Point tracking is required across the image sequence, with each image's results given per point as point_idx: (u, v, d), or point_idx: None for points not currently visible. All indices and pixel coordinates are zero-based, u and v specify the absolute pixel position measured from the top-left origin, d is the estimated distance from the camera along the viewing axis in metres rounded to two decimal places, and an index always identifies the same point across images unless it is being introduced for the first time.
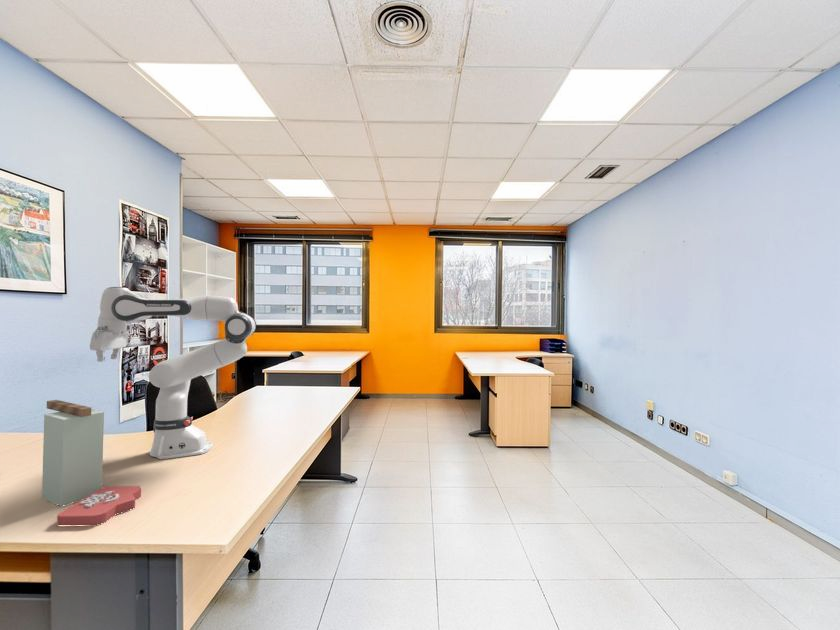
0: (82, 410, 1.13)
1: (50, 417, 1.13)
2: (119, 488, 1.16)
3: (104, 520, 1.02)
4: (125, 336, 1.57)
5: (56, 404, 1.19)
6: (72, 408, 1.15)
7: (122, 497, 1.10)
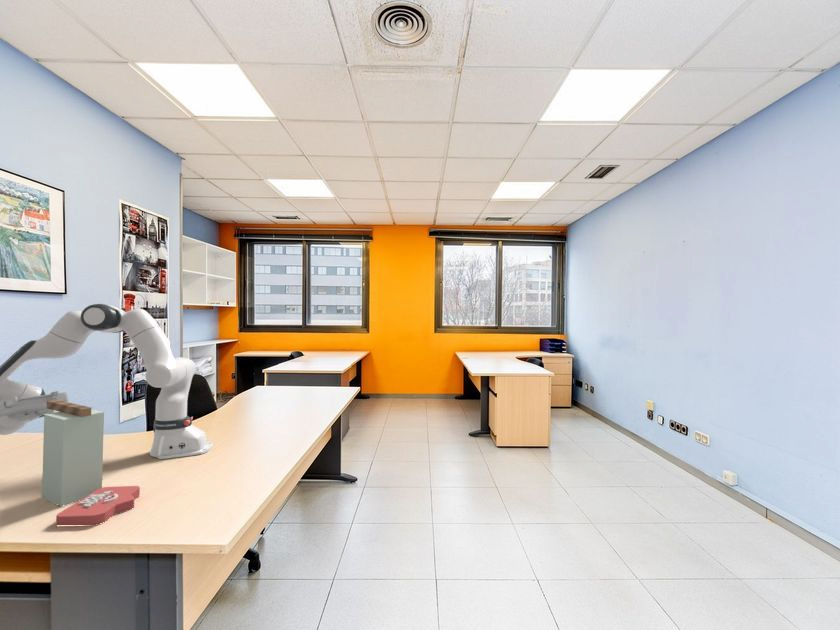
0: (82, 410, 1.13)
1: (50, 417, 1.13)
2: (117, 488, 1.16)
3: (104, 520, 1.02)
4: None
5: (56, 404, 1.19)
6: (72, 408, 1.15)
7: (121, 497, 1.10)
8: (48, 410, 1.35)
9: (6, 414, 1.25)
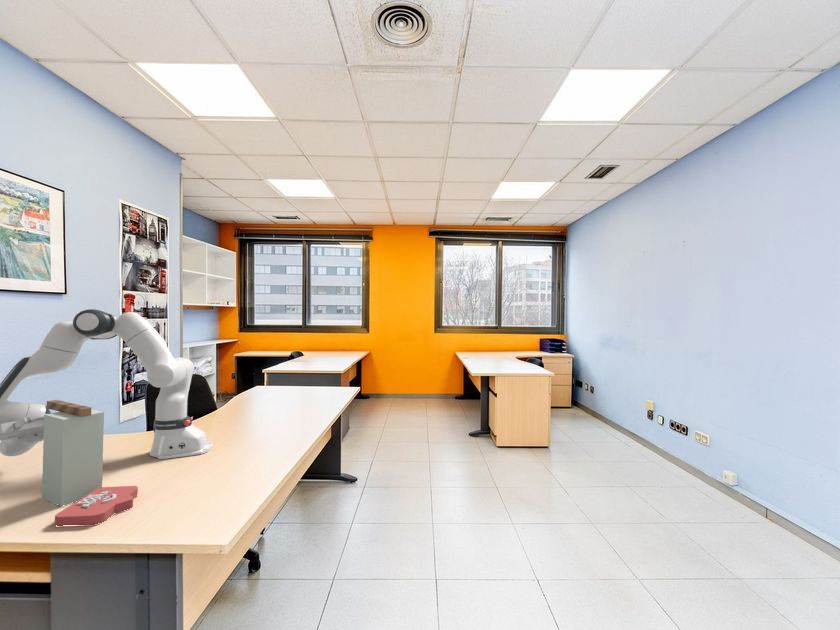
0: (82, 410, 1.13)
1: (50, 417, 1.13)
2: (115, 488, 1.15)
3: (103, 520, 1.02)
4: None
5: (56, 404, 1.19)
6: (72, 408, 1.15)
7: (120, 497, 1.10)
8: None
9: (15, 436, 1.23)
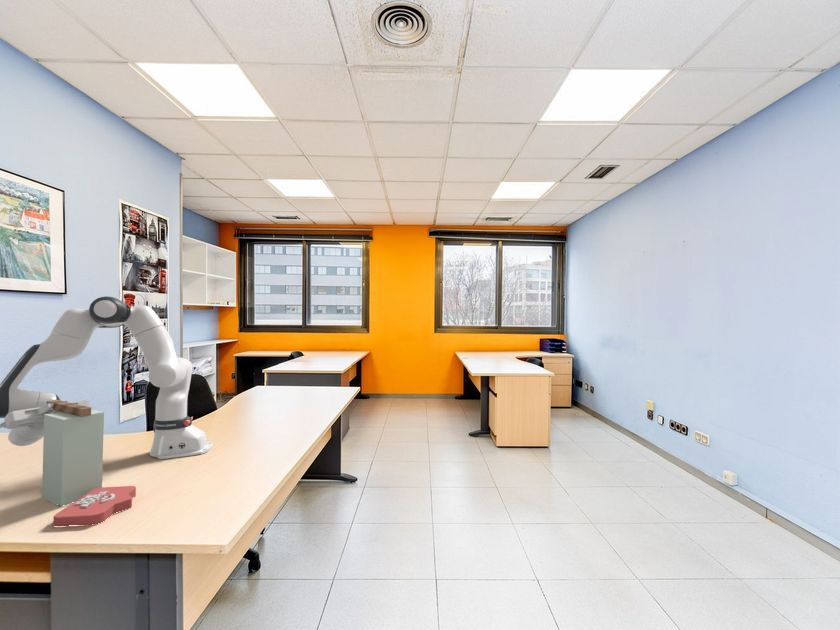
0: (82, 410, 1.13)
1: (50, 417, 1.13)
2: (113, 488, 1.15)
3: (103, 519, 1.02)
4: None
5: (56, 404, 1.19)
6: (72, 408, 1.15)
7: (118, 497, 1.10)
8: None
9: (27, 424, 1.19)
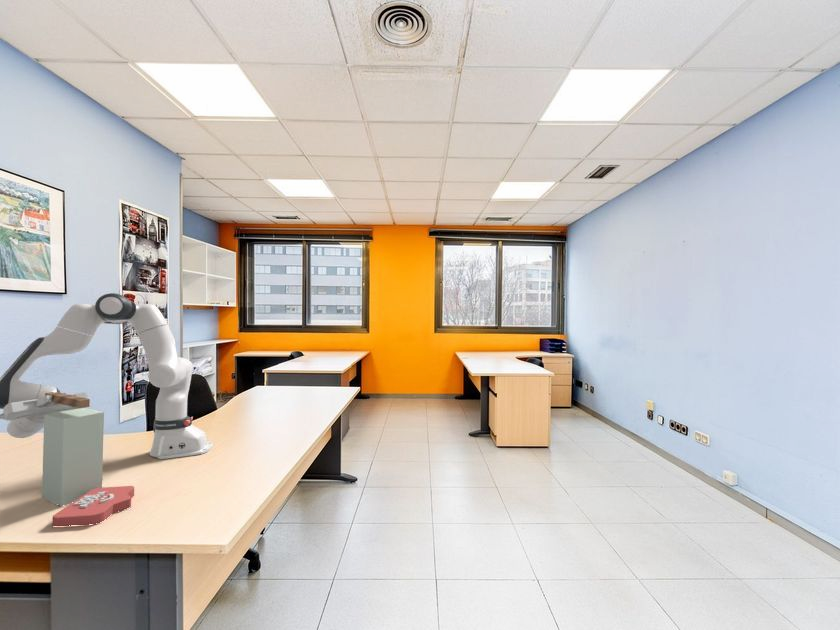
0: (80, 401, 1.13)
1: (50, 417, 1.13)
2: (111, 488, 1.15)
3: (102, 519, 1.02)
4: None
5: (54, 396, 1.19)
6: (70, 400, 1.15)
7: (117, 497, 1.10)
8: None
9: (25, 416, 1.20)
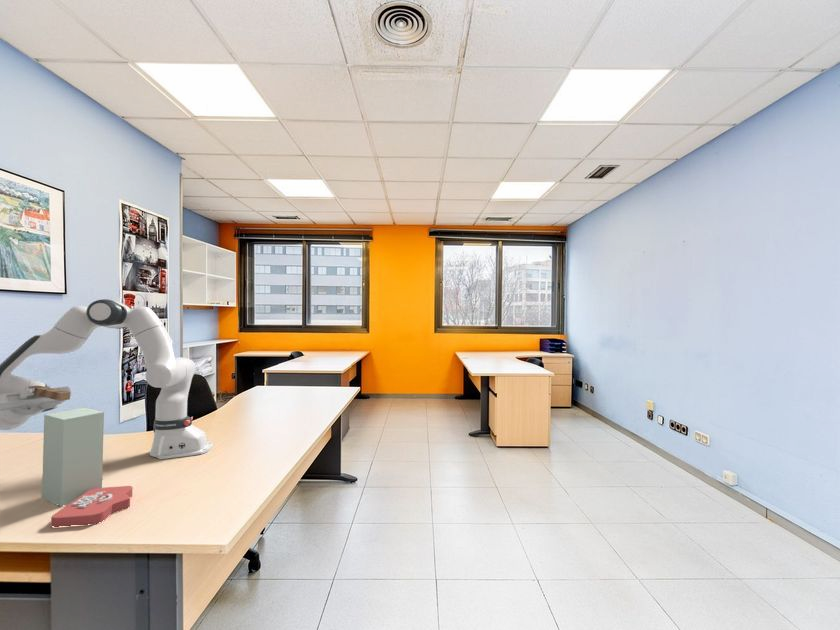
0: (61, 394, 1.18)
1: (50, 417, 1.13)
2: (109, 489, 1.15)
3: (102, 519, 1.02)
4: None
5: (37, 389, 1.24)
6: (52, 392, 1.20)
7: (116, 497, 1.10)
8: (51, 404, 1.35)
9: (9, 408, 1.25)
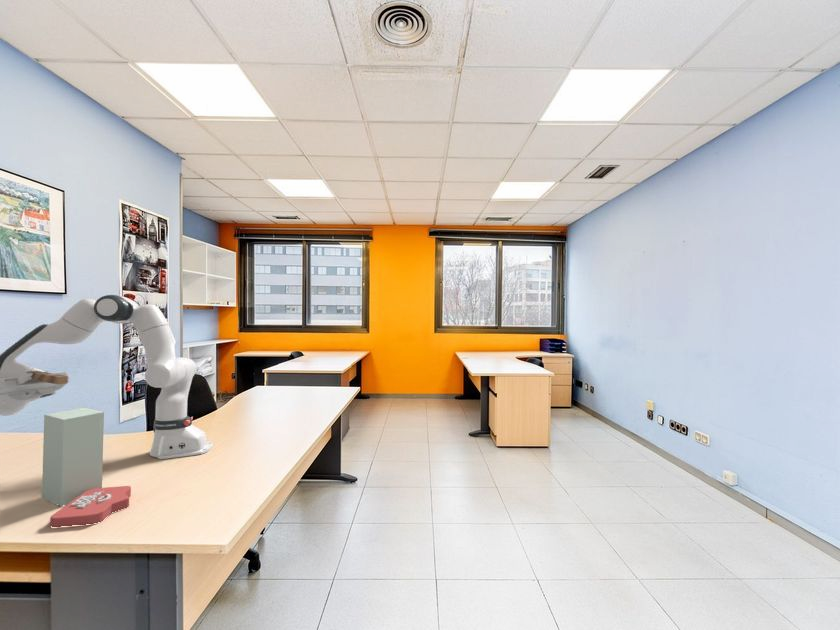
0: (58, 378, 1.19)
1: (50, 417, 1.13)
2: (107, 489, 1.15)
3: (102, 519, 1.02)
4: None
5: (35, 374, 1.25)
6: (49, 376, 1.21)
7: (115, 497, 1.10)
8: (49, 390, 1.35)
9: (7, 393, 1.26)
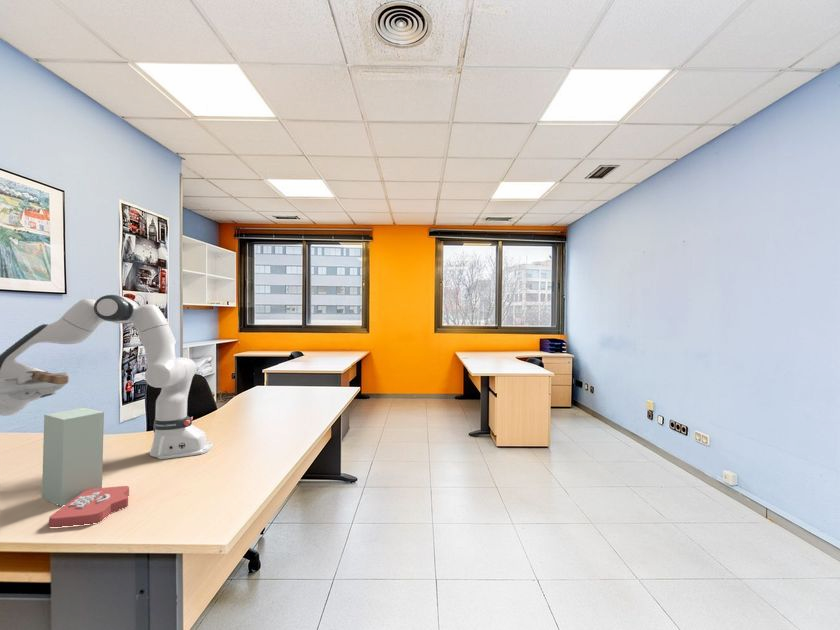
0: (58, 378, 1.19)
1: (50, 417, 1.13)
2: (105, 489, 1.15)
3: (101, 519, 1.02)
4: None
5: (35, 374, 1.25)
6: (49, 376, 1.21)
7: (114, 497, 1.10)
8: (49, 390, 1.35)
9: (7, 393, 1.26)
